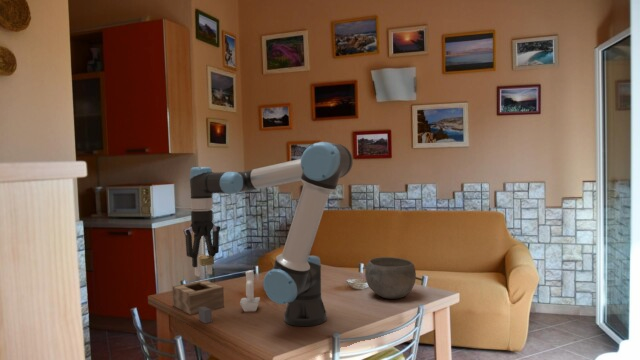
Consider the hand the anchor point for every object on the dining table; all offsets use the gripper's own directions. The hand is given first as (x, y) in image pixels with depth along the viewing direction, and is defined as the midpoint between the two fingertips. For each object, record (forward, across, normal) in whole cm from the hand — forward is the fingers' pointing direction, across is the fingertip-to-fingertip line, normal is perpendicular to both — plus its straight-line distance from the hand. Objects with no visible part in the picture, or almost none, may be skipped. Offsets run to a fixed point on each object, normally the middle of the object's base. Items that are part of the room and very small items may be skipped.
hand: (203, 274), depth 164 cm
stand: (+17, 0, +1) cm, 17 cm away
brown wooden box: (+17, -6, -17) cm, 25 cm away
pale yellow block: (-4, 0, 0) cm, 4 cm away
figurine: (+17, -19, +1) cm, 25 cm away
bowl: (+17, -71, +27) cm, 78 cm away
